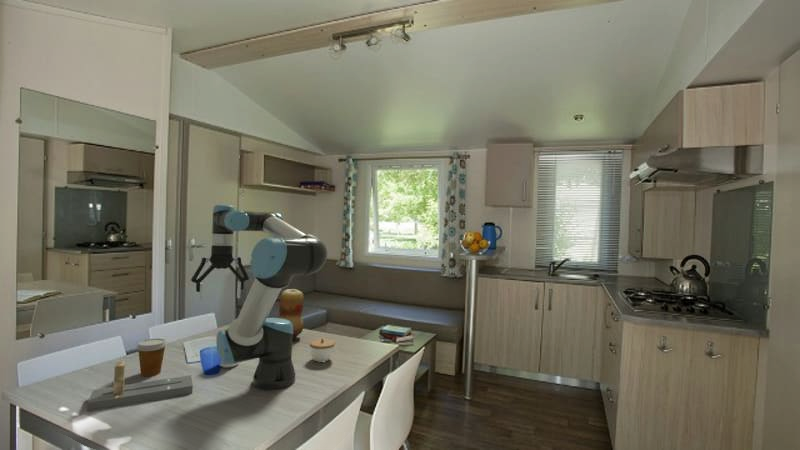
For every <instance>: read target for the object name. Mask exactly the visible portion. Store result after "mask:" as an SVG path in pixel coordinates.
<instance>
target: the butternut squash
mask: <svg viewBox="0 0 800 450" xmlns="http://www.w3.org/2000/svg"><path fill="white" fill-rule="evenodd" d="M304 299H305V298H304V294H303V292H302V291H300V290H298V289H295V288H291V289H289V288H288V289H285V290H283V291H282V293H281V294H280V299H279V303H278V305H279V306H278V307H279V308H278V309H279V310H278V311H279V315H278V318H280V319H286V320H288V321H290V322H291V323H292V325H293V338H292V340H293V339H295V338H296V337H298V336H299V335H300V334H302V332H303V330H304V320H303V316H302V314H303V309H304V302H305V301H304Z"/></svg>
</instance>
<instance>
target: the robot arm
mask: <svg viewBox="0 0 800 450" xmlns="http://www.w3.org/2000/svg"><path fill="white" fill-rule="evenodd" d="M283 218H284V217H282V215H281V214H280V213H277V212H273V211H269V212H266V211H251V210H249V211H248V210H236V209H235V206H233V205H227V204H226V205H225V204H224V205H223V204H221V205H220V204H215V205H214V206H213V210H212V227H211V228H212V229H211V231H212V232H211V234H212V235H211V244H212V245H211V247H210V248H211V251H210V253H211V255H210V257H204V256H202V257H201V262H200V263H199V266H198V267H197V268H196V270H195V272H194V273H193V275H192V277H191V279H190V281H191V282H192V283H195V285H196V286H195V291H196V292H197V293H198V301H199V302H202V301H203V282H202V281H204V279H206V277H208V276H209V275H210V273H211V272H212V271H213V270H214V269H217V270H220V269H221V270H222V269H223V270H226V269H229V270H230V271H231V272H232V273H233V274H234V275H235V277H236V278H237V279H238V280H237V288H236V291H237V293H236V298H237V299H238V300H239V299H241V292H242V291H243V290H244V283H245V281H248V280H249V279H250V278H249V275H248V273H247V272H246V270H245V269H246V268H244V265H243V263H242V257H240V256H237V257H233V251H234V246H233V244H234V232H263V233H265V234H266V235H268V236H269V237H267V238H262V239H260V240H259V241H258V242H256V244H255V245H254V246H253V249H252V252H251V254H250V257H251V259H250V270H251V272H252V274H253V277H254V278H255V279H254V280H253V283H252V285H251V287H250V289H249V292H248V294H247V297H246V299H245V300H244V303H243V305H242V307H241V310H240V312H239V314H238V317H237V318H236V319H233V320H232V321H231V322H230V323H229V325H228V328H227V329H222V330H219V331H218V332H217V335H216V342H215V343H216V350H217V354H218V355H219V358H220V360H221V362H222V363H223V364H225V365H229V364H235V363H239V364H240V363H243V362H247V361H251V360H255V359H259V360H258V363H257V366H256V369H255V371H254V373H253V375H252V376H253V377H252V384H253V386H254V387H255V388H258V389H261V390H279V389H283V388H287V387H289V386H292V385H293V384H294V383H295V382H296V375H297V374H296V371H295V367H294V363H293V360H292V358H293V357H292V355H293V339H294V338H293V325H292V323H291V322H290V321H288V320H286V319H280V318H279V317H269V315H270V313H271V310H272V309H273V308H274V307H273V306H274V304H275V303H276V301H277V299H278V296H279V294H280V292H281V290H282V289H284V288H285V289H286V288H287V287H289V285H290V284H291V282H292V280H293V277H297V276H307V275H308V276H309V275H312V274H315V273H317V272H319V271H320V270H321V269H322V268H323V267H324V265H325V264H326V261H327V259H328V249H327V247H326V245H325V243H324V242H323V240H321V239H320V238H318V237H317V236H315V235H313V234H305V233H304V232H303V231H300V229H297V228H295V227H294V226H292V225H291V224H289V223H287V222H285V221H284V219H283ZM208 262H210V263H211V265H209V267H208V268H207V269H206V270H205V271H204V272H203V273H202V274H201V275H200V273H201V272H202V270H203V269H204V267H205V264H208ZM233 262H235V264H237V266H238V268H239V270H240V272H241V274H242V275H240V273H238V271H237V270H236V269H235V268H234V266H233V265H232V263H233ZM199 275H200V276H199ZM241 290H242V291H241ZM292 338H293V339H292ZM218 355H217V356H218Z"/></svg>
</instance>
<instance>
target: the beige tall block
mask: <svg viewBox="0 0 800 450" xmlns="http://www.w3.org/2000/svg"><path fill="white" fill-rule="evenodd" d="M125 374H126V360H123V361H116V362H115V366H114V378H113V387H114V395H116V394H122V393H123V391H124V385H125V379H126V378H125V376H126V375H125Z"/></svg>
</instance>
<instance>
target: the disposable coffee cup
mask: <svg viewBox="0 0 800 450" xmlns="http://www.w3.org/2000/svg"><path fill="white" fill-rule="evenodd" d="M167 345H168V344H167V342H166V339H165V338H159V337H158V338H149V339H144V340H142V341H140V342H138V345H136V348H137V351H138V359H139V368H140V369H139V370H140V375H141V376H142V377H152V376H153V377H154V376H157V375H159V374H160V373H161V371H162V366H163V360H164V354H165V350H166V347H167Z"/></svg>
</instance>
